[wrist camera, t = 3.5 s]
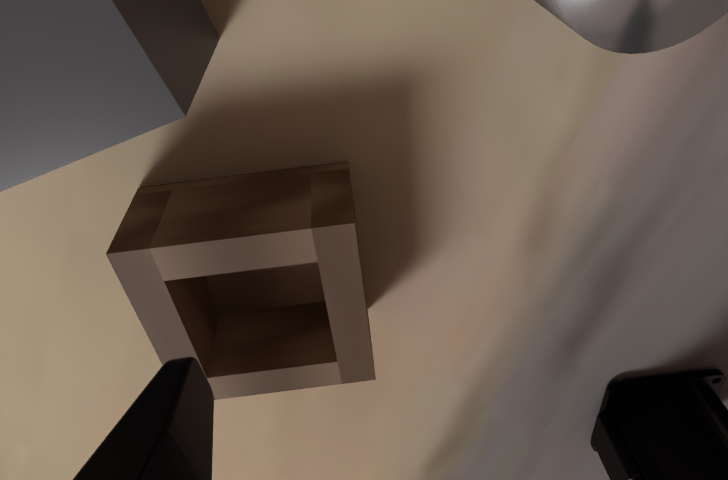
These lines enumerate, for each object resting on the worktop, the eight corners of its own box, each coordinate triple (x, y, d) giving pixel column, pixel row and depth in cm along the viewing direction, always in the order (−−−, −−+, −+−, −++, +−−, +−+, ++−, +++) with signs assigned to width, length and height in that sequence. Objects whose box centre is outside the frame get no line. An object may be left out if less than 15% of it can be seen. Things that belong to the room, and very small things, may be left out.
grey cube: (110, -167, 14) (6, -166, 9) (220, 37, 17) (185, 116, 12) (-64, -78, 15) (-240, -34, 10) (73, 100, 18) (-13, 196, 13)
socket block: (348, 161, 20) (354, 223, 17) (367, 310, 25) (375, 379, 22) (138, 187, 20) (105, 254, 17) (198, 331, 25) (182, 403, 22)
